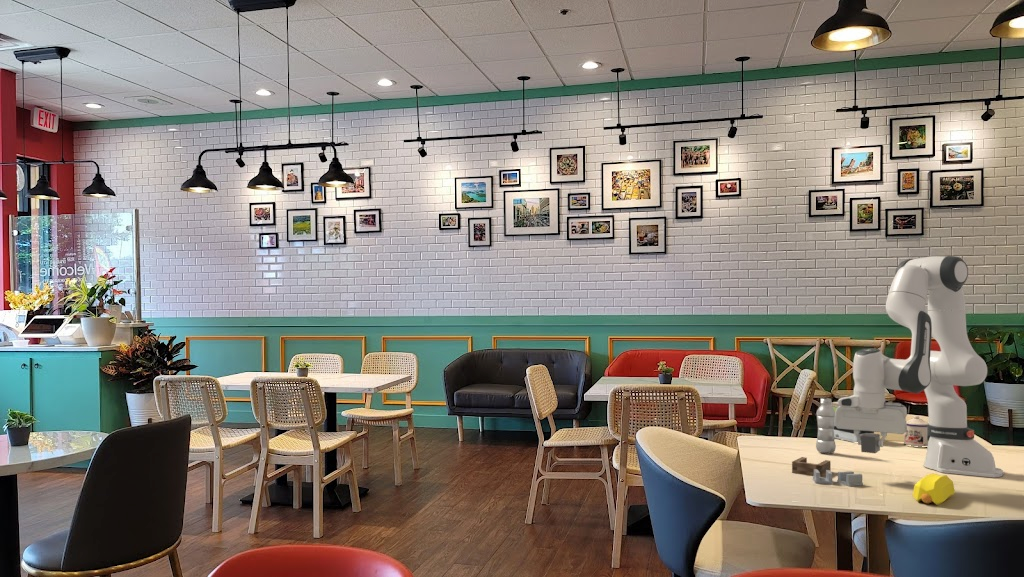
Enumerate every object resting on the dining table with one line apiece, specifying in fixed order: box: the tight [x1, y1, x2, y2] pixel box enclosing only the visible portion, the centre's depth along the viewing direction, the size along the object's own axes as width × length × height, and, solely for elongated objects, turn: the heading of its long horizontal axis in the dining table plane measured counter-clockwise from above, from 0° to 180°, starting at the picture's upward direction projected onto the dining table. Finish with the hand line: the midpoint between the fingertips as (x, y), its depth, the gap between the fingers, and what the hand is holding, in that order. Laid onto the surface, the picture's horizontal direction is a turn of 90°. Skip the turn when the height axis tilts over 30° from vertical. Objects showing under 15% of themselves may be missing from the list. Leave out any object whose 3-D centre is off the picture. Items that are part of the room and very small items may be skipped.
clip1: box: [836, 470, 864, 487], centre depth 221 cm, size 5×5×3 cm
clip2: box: [812, 469, 834, 485], centre depth 223 cm, size 5×5×3 cm
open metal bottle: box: [815, 397, 837, 455], centre depth 269 cm, size 6×7×20 cm
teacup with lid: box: [903, 415, 929, 447], centre depth 285 cm, size 12×9×12 cm
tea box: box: [831, 401, 875, 443], centre depth 299 cm, size 15×10×15 cm
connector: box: [860, 433, 881, 454], centre depth 228 cm, size 4×10×5 cm, turn 141°
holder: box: [791, 456, 832, 478], centre depth 236 cm, size 9×10×4 cm
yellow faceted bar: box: [912, 473, 956, 506], centre depth 203 cm, size 18×7×8 cm
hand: (870, 445), depth 227 cm, fingers closed on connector, 4 cm apart
